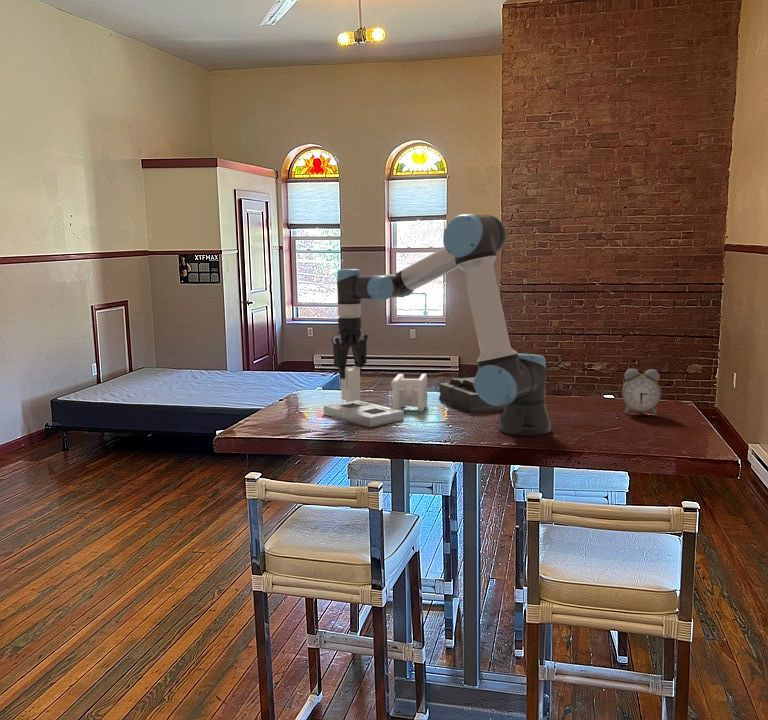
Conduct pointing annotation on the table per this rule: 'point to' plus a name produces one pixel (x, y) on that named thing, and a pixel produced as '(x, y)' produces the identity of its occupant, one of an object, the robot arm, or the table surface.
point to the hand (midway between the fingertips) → (350, 386)
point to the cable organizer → (409, 392)
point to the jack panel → (364, 413)
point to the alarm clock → (641, 390)
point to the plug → (352, 386)
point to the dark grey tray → (464, 396)
